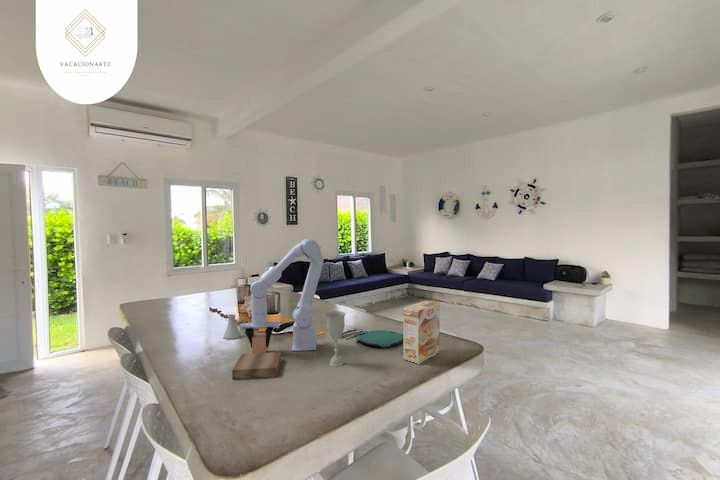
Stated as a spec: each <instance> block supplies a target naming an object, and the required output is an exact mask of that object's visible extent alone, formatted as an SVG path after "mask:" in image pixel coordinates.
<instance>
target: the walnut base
mask: <svg viewBox="0 0 720 480" xmlns="http://www.w3.org/2000/svg"><path fill="white" fill-rule="evenodd" d="M281 363H282V351H275V352H273V351H271V352H266V353H253V354H252V353H241V355H240V356H239V358H238V360H237V361H236V363H235V365H234V367H233V368H232V370H231V371H232V372H231V377H232V380H242V379H243V380H244V379H256V378H257V379H258V378H273V377H274V378H276V377H277V376H278V372H279V369H280V366H281Z"/></svg>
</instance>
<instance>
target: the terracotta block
mask: <svg viewBox="0 0 720 480" xmlns="http://www.w3.org/2000/svg"><path fill="white" fill-rule="evenodd" d="M251 349H252V350H251V352H252V353H251V354H253V353H268V352H267V351H268V349H269V347H266V333H254V336H253V337H252V348H251Z"/></svg>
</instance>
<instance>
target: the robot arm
mask: <svg viewBox="0 0 720 480" xmlns="http://www.w3.org/2000/svg"><path fill="white" fill-rule="evenodd" d="M303 257H306V259H308V262H309V263H310V265H309V267H308V270H307V271H308V272H307V275H306V278H305V281H304V285H303V288H302V292H301V296H300V298H299V299H300V300H299V301H298V303H297V304H296V305H297V306H296V307H295V308H294V310H293V311H292V315H291V316H292V319H293V321H294V323H293V324H292V338H293V340H292V342H293V343H292V347H291V352H302V351H316V350H317V344H318V339H317V325H314V324H312V320H313V317H312V312H313V301H314V298H315V294H316V292H317V288H318V284H319V280H320V277H321V273H322V270H323V266H324V258H323V254H322V248H321V246H320V244H319V243H318V242H317V241H316V240H314V239H311V238H303V239H302V240H301V241H299V243H297V244H295V245H294V246H292V248H291V249H290V250H289V251H288V252H287V253H286V255H284V257H283V258H282V259H281V260H280V261H279V262H278V263H277V264H276V265H273V266H270V267H266V268H265V271H264V272H263V273H262V275H261V276H258V277H257V278H256V281H254V282H252V283H251V284H250V287H249V290H250V292H251V298H250V299H251V301H250V303H251V304H250V305H251V312H250V313H251V322H245V323H240V324H239V331H243V330H244V334H245V335H246V337H247V339H248V341H249V343H250V347H251V349H252V337H253V336H254V334H255V330H258V329H265V334H266V347H268V348H269V346H270V340H271V337H272V335H273V334H272V333H273V331H274V329H279V328H280V322H279V321H268V312H267V311H268V306H267V303H268V302H267V296H266V295H267V293H268V290H269V289H271V287H272V286H274V285H275V284H276V283H277V282H278V281H279V279H280V278H281V277H282V272H283V271H284V270H286V268H287V267H289V265H290V264H292V263H293V262H294V261H296V259H298V258H303Z"/></svg>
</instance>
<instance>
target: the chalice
mask: <svg viewBox="0 0 720 480" xmlns="http://www.w3.org/2000/svg"><path fill="white" fill-rule="evenodd" d="M346 314H347V313H346V312H345V311H337V310H336V311H329V312H326V313H325V316H326V326H327V327H326V328H327V331H328V334H329V336H330V337H331V339H332V340H334V344H333V346H334V349H333V351H334V355H333V356H332V357H331V359H330V361H329V366H331V367H340V366H342V365H344V361H343V359H342V356H341V355H339V350H340V349H339V348H338V346H339V343H338V342H339V340H340V339H341V338H340V337H341V336H342V333H344V330H345V325H346V324H345V317H346Z"/></svg>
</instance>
